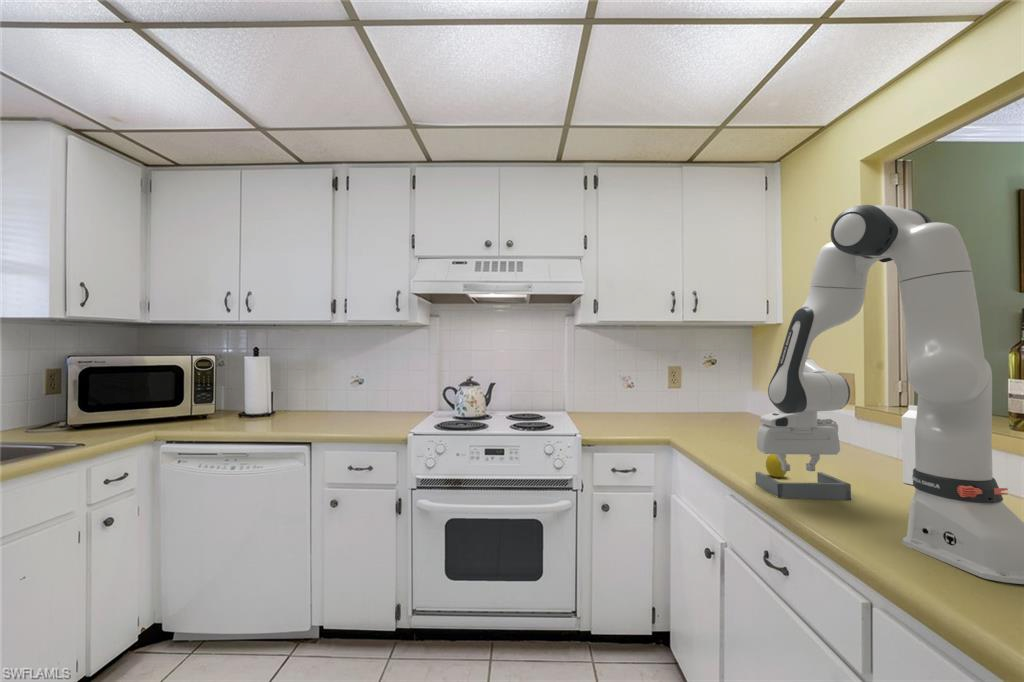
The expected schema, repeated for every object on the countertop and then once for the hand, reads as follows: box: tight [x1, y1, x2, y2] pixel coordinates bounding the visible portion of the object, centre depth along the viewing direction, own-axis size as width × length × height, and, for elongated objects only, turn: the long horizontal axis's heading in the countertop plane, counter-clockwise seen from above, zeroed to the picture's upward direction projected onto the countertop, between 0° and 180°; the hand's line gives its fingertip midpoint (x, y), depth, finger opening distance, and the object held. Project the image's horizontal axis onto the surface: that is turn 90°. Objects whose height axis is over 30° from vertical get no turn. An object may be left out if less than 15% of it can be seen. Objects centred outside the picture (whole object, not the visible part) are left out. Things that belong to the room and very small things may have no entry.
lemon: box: [765, 454, 788, 479], centre depth 139 cm, size 6×6×8 cm
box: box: [755, 471, 852, 501], centre depth 126 cm, size 12×18×4 cm, turn 87°
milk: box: [901, 404, 917, 486], centre depth 133 cm, size 6×6×22 cm
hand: (798, 470), depth 126 cm, fingers open, 5 cm apart
